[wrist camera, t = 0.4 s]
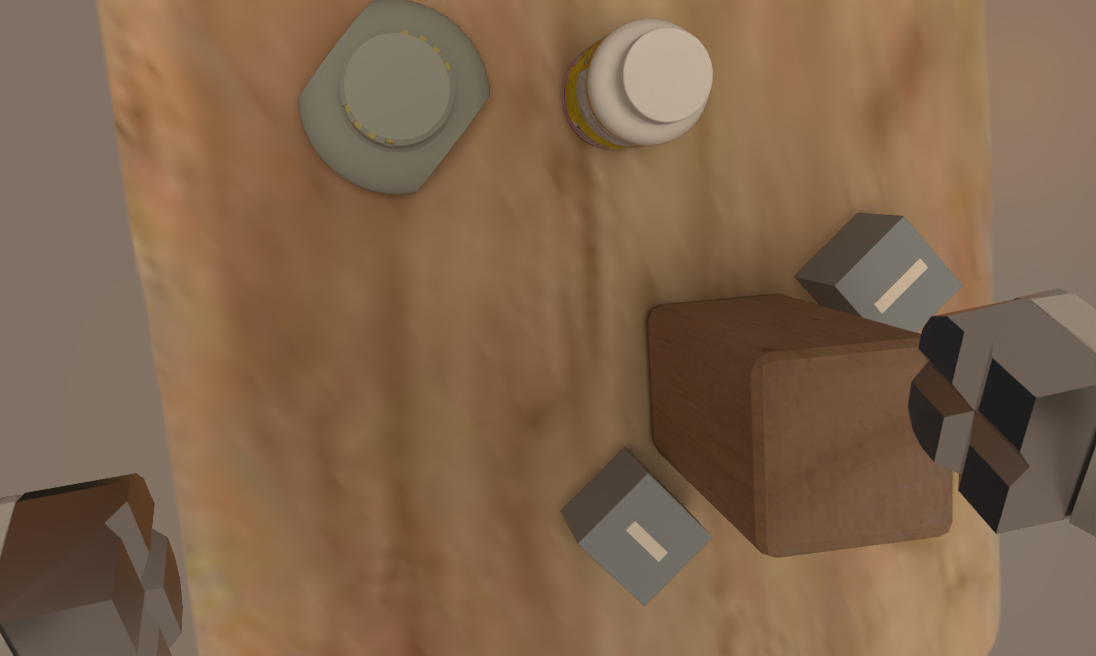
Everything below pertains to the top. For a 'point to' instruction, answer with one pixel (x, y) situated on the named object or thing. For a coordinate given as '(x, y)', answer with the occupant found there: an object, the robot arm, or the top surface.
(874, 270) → the cube one
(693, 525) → the cube seven
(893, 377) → the wooden block
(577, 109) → the supplement bottle
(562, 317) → the top surface
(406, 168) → the air freshener
